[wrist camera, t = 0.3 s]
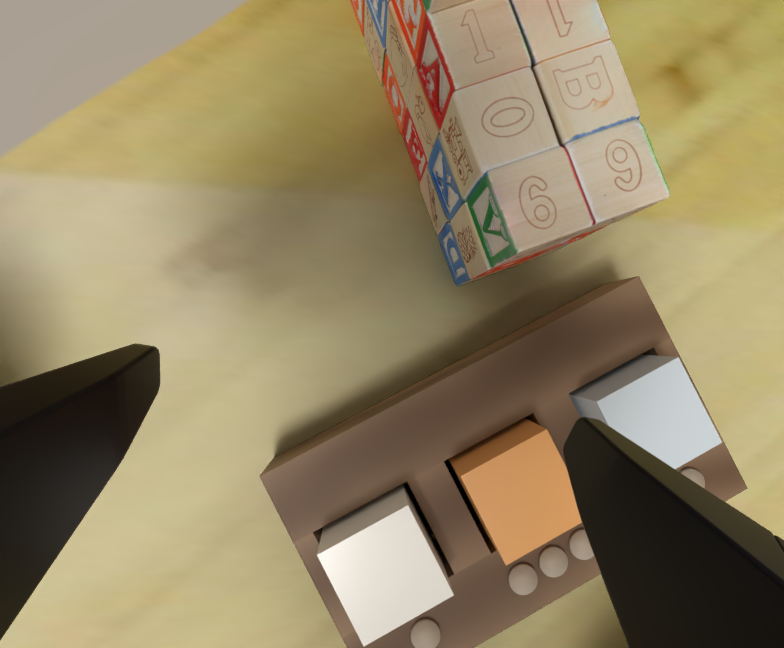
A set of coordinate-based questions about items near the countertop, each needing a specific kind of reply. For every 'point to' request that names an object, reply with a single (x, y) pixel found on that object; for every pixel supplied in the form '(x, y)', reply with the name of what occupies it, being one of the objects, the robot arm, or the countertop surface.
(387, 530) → the one dot button
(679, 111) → the countertop surface
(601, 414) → the light grey block
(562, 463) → the three dot button
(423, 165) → the stack of blocks
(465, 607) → the walnut button panel
